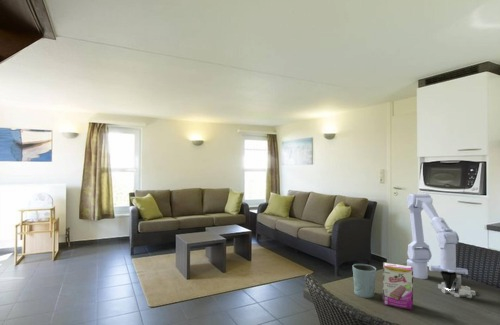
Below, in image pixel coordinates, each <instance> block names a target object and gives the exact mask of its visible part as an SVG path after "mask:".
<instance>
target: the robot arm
mask: <svg viewBox="0 0 500 325" xmlns="http://www.w3.org/2000/svg"><path fill="white" fill-rule="evenodd" d="M406 203H407V209H408V210H409V218H410V227H411V237H412V238H411V239H412V241H411V242H410V243H408V245H407V252H406V254H407V257H408V258H407V260H406V266H411V267H412V269H413V278H416V279H419V280H420V279H421V280H426V279H428V272H429V271H430V272H439V273H440V275H441V277H442V278H443V282H445V285H446V288H447V289H451V287H452V284H453V282H454V280H455V278H456V277H457V275H458V274H460V275H461V274H463V275H469V270H468V269H467V268H462V267H458V266H457V263H456V262H457V257H456V256H457V255H456V254H457V252H456V250H457V249H456V248H457V247H456V245H458V243H460V236H459V235H458V233H457V232H456V230H453V229H452V228H450V227H449V224H447V222H446V221H445V219H444V218H443V217H440V216H439V215H438V213H437V210H436V209H435V207H434V205H433V197H432V196H431V195H430V194H429V193H409V194H408V196H407V197H406ZM423 210H424V212H425V213H426V215H427V216H428V217H429V218H430V225H431V226H432V228H433V229H434V231H435V233H436V234H437V236H436V239H437V241H438V247H439V248H440V249H439V251H440V252H439V253H440V256H439V257H440V259H439V260H440V265H429V266H428V263H429V262H430V261H431V259H432V252H431V251H432V250H431V248H430V246H429V244H427V243H426V242H425V237H424V229H423V227H424V226H423V221H422V220H423V219H422V211H423ZM456 266H457V267H456ZM428 270H429V271H428ZM456 274H457V275H456Z"/></svg>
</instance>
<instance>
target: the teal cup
mask: <svg viewBox="0 0 500 325" xmlns="http://www.w3.org/2000/svg"><path fill="white" fill-rule="evenodd" d="M352 273H353V274H352V277H353V278H352V279H353V292H354V294H355V295H356V296H358V297H360V298H364V299H365V298H366V299H371V298H373V297H375V289H376V288H375V286H376V277H377V268H376V267H375V266H373V265H371V264H365V263H354V264H353V265H352Z"/></svg>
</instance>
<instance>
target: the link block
mask: <svg viewBox="0 0 500 325" xmlns="http://www.w3.org/2000/svg"><path fill="white" fill-rule="evenodd" d="M456 275H457V277H456V278H455V280H454V281H457V282H459V287H460V288H461V285H462V275H461V274H458V273H456ZM453 285H454V282H453V284H452V286H453Z"/></svg>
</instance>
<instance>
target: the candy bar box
mask: <svg viewBox="0 0 500 325" xmlns="http://www.w3.org/2000/svg"><path fill="white" fill-rule="evenodd" d="M382 265H383V266H382V304H383V305H385V306H390V307H395V308H400V309H401V308H402V309H406V310H411V311H413V310H414V306H413V305H414V277H413V269H412V267H411V266H407V265H405V264H404V265H403V264H396V263H389V262H382Z"/></svg>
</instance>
